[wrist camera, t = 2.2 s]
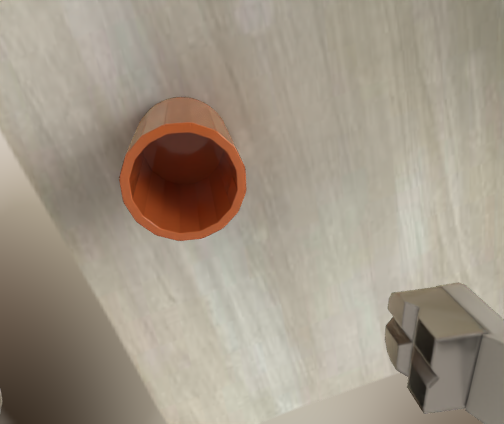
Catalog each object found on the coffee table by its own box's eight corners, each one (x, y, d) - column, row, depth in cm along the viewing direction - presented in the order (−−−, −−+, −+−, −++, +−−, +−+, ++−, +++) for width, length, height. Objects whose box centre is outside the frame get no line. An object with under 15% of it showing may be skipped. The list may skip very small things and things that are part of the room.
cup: (143, 190, 25) (130, 246, 18) (129, 99, 22) (109, 127, 16) (231, 182, 25) (248, 234, 19) (225, 93, 23) (243, 118, 17)
